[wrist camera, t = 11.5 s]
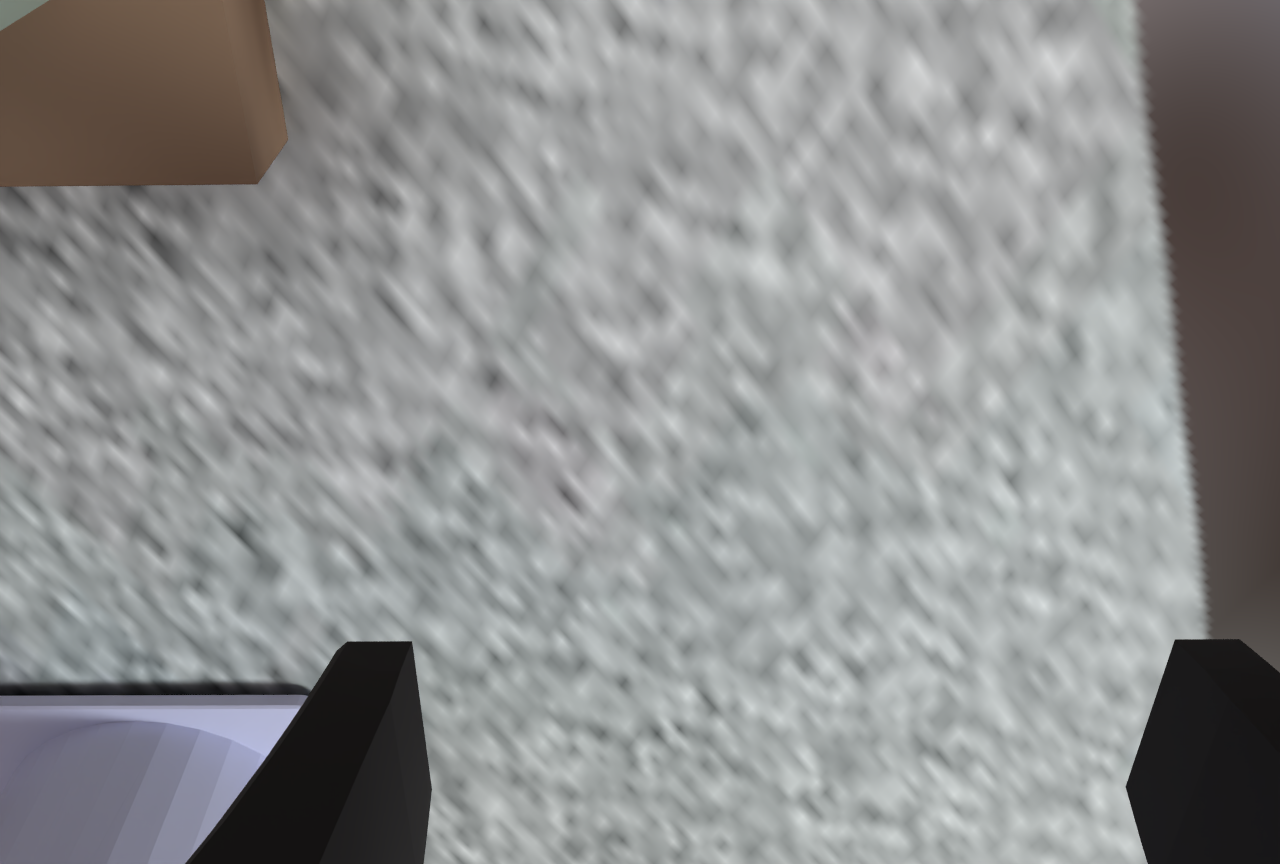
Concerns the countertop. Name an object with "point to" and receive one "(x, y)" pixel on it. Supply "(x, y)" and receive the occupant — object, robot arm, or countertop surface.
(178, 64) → the walnut board
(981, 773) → the countertop surface
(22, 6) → the sage block
